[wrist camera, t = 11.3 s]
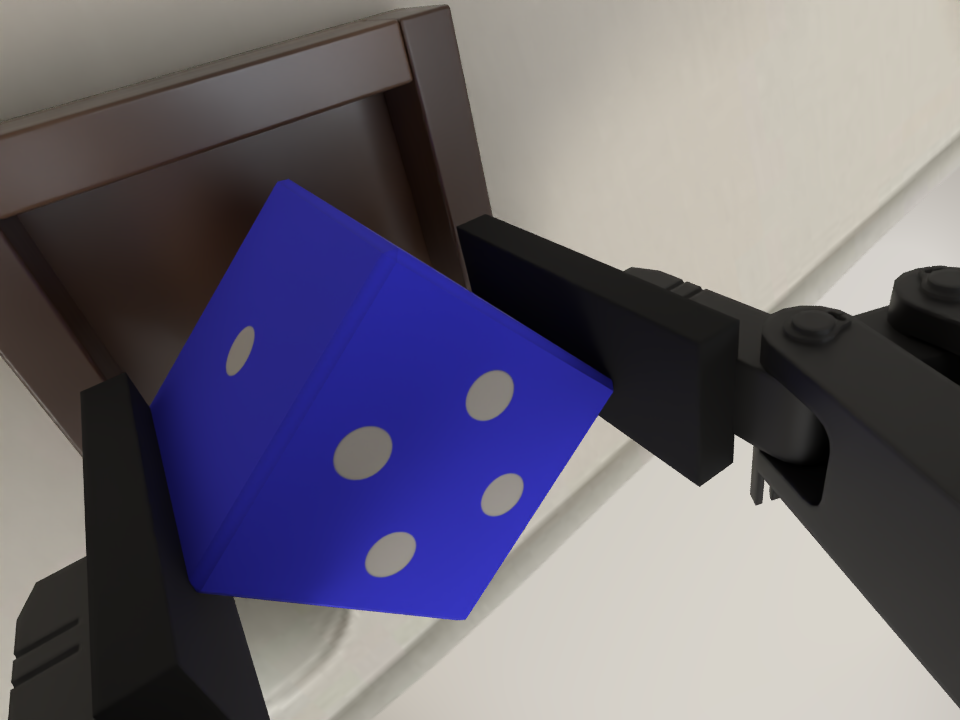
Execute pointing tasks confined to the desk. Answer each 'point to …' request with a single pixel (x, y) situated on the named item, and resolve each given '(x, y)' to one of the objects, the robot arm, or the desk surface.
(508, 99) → the desk surface
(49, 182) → the wooden tray
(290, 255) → the die
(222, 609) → the robot arm
